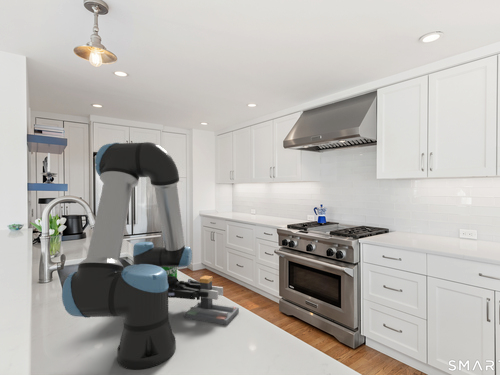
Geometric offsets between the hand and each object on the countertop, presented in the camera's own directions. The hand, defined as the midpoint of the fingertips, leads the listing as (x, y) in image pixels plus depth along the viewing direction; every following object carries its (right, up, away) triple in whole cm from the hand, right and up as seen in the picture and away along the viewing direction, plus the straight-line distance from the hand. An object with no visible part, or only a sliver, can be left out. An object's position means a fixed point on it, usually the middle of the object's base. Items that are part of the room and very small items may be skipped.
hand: (220, 293), depth 101 cm
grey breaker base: (-3, -8, +1) cm, 9 cm away
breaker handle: (-5, -6, +2) cm, 8 cm away
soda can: (-28, -8, +37) cm, 47 cm away
